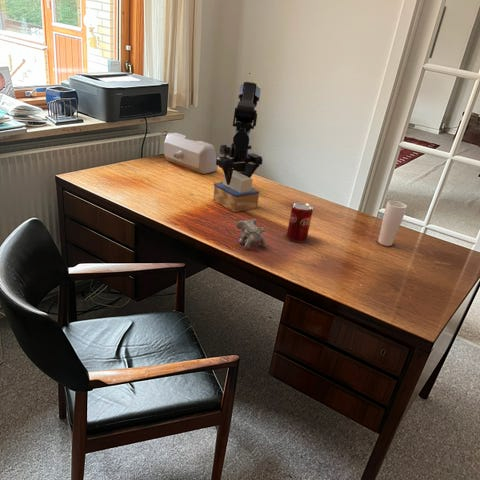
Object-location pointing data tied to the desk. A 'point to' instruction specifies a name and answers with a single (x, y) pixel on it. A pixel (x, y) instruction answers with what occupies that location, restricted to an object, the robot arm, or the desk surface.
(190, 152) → the tank
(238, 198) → the storage box
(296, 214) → the soda can
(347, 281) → the desk surface
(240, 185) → the case
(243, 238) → the gray elephant figurine
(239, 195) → the blue lid
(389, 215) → the drinking glass
